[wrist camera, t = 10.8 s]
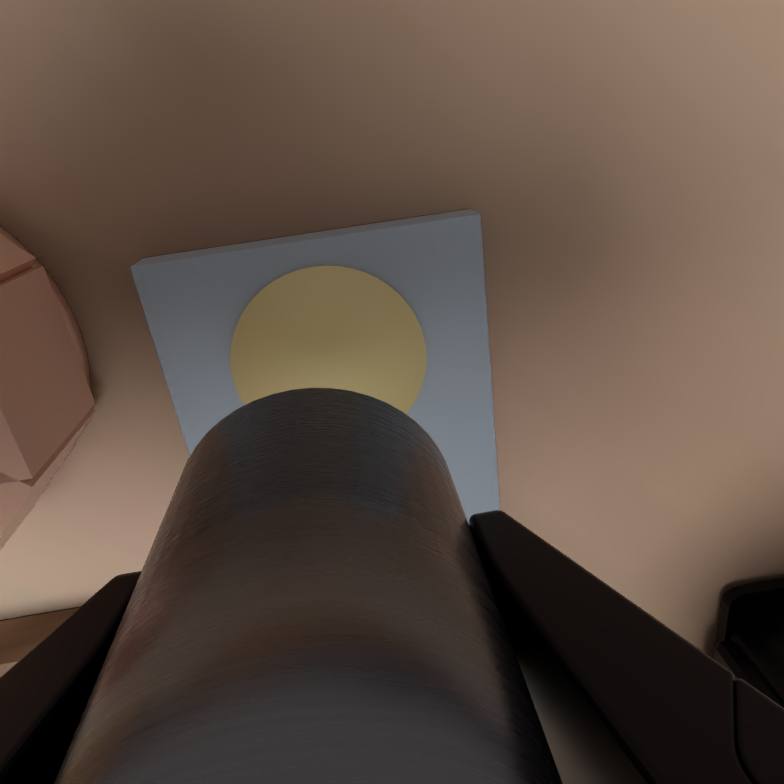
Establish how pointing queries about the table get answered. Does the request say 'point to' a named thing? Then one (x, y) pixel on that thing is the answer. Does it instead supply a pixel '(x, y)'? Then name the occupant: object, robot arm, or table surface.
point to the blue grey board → (337, 330)
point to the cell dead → (312, 619)
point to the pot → (36, 382)
